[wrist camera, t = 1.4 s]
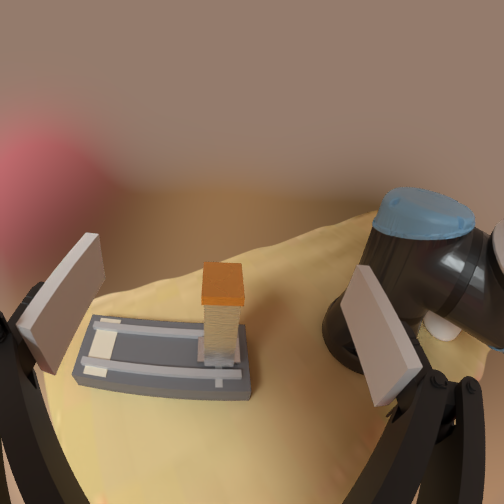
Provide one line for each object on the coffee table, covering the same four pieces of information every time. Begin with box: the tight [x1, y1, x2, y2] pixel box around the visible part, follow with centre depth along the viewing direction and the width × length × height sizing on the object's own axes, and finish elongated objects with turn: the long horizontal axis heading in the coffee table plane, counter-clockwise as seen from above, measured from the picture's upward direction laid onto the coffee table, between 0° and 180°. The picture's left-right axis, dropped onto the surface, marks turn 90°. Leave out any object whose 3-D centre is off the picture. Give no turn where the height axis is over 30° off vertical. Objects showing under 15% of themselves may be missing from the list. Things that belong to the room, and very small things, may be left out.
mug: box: [423, 310, 462, 341], centre depth 41 cm, size 12×8×10 cm
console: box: [72, 315, 251, 401], centre depth 32 cm, size 21×10×3 cm, turn 95°
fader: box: [197, 262, 245, 367], centre depth 29 cm, size 5×5×11 cm
